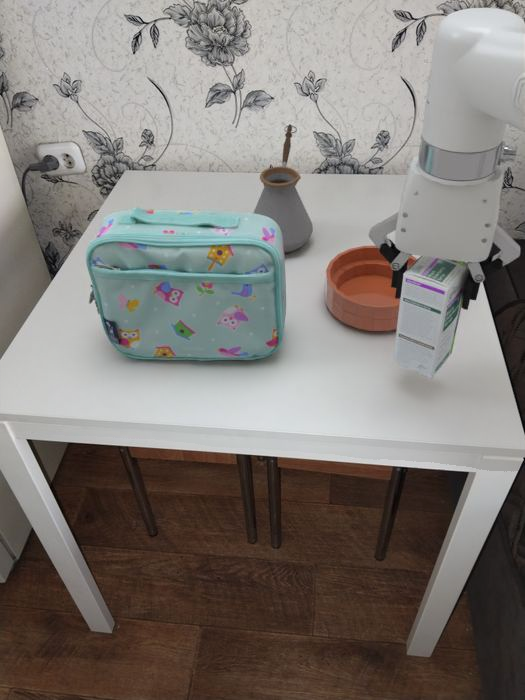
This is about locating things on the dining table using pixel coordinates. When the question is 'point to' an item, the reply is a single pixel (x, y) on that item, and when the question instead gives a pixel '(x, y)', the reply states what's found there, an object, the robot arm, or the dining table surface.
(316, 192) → the dining table surface
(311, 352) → the dining table surface
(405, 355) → the syrup box
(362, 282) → the bowl
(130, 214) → the lunch box
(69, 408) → the dining table surface
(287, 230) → the coffee pot
